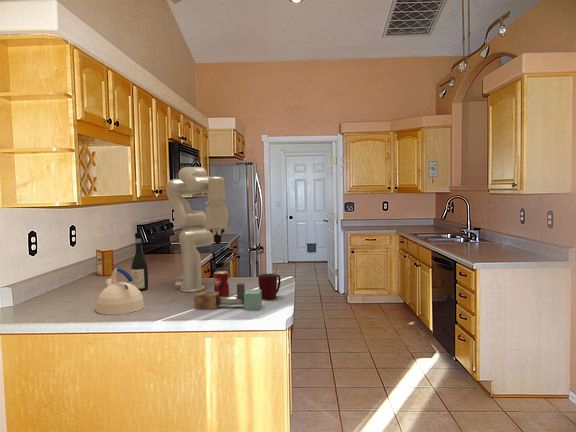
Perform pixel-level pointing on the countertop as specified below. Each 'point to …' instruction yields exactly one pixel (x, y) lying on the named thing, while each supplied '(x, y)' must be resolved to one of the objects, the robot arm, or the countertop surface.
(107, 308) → the kettle
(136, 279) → the wine bottle
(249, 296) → the socket block
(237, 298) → the slide bolt
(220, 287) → the soda can
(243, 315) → the countertop surface
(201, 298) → the guide sleeve
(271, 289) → the mug
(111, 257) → the baking soda box
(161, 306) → the countertop surface
